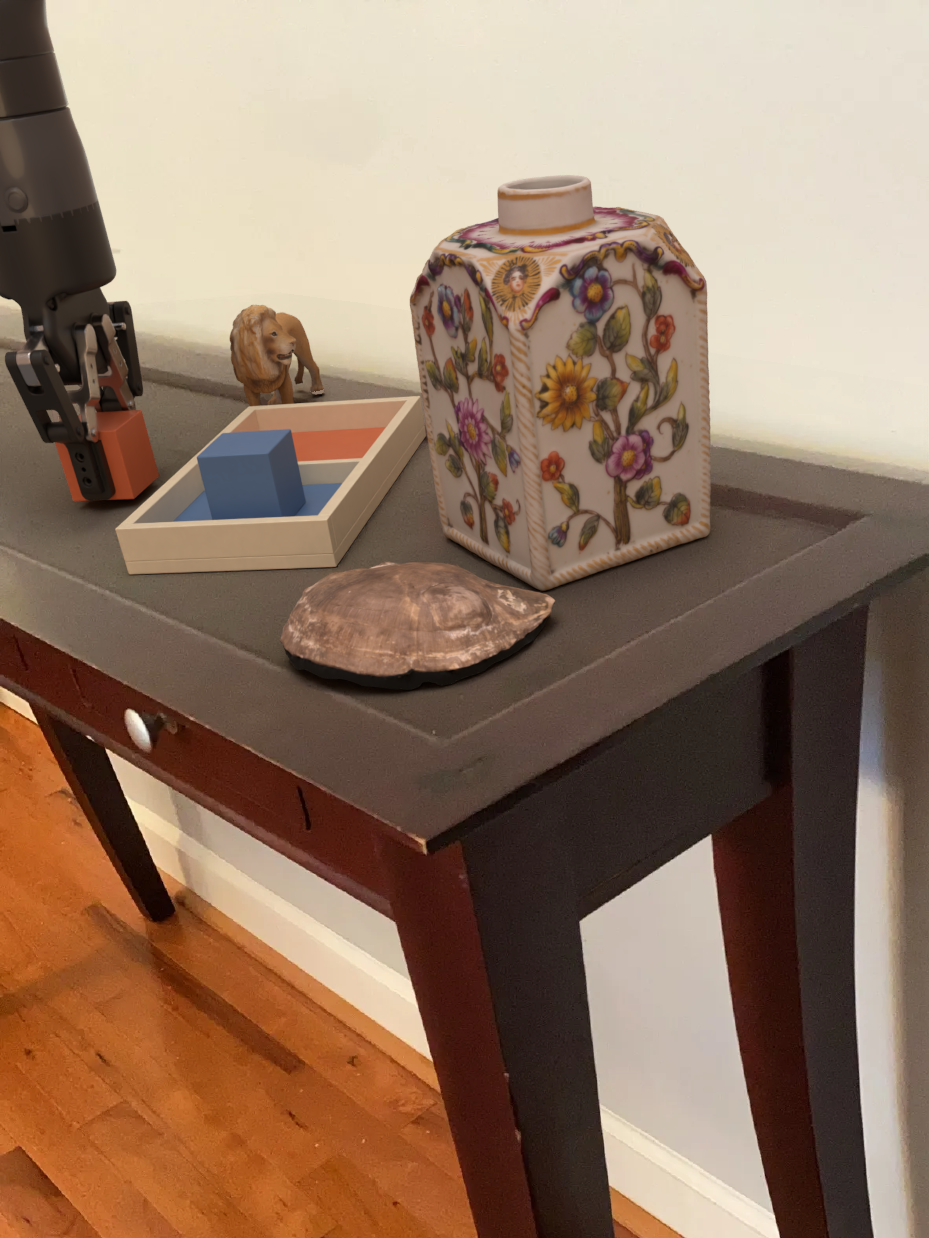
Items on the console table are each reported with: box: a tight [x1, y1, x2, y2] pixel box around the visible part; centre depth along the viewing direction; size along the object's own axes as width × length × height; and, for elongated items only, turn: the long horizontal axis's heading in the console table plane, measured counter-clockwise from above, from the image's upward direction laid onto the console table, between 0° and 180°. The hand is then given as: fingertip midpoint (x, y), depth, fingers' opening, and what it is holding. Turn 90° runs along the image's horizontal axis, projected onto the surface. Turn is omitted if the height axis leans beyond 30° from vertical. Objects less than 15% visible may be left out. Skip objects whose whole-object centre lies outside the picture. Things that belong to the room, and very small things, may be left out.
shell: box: [279, 561, 556, 691], centre depth 63 cm, size 12×13×4 cm
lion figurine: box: [229, 304, 325, 407], centre depth 97 cm, size 15×5×9 cm, turn 2°
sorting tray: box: [115, 395, 427, 575], centre depth 83 cm, size 13×24×3 cm, turn 171°
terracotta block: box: [54, 409, 160, 502], centre depth 86 cm, size 4×4×4 cm
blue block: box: [197, 429, 306, 520], centre depth 77 cm, size 4×4×4 cm
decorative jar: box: [409, 174, 712, 592], centre depth 68 cm, size 12×12×18 cm
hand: (115, 483), depth 87 cm, fingers closed on terracotta block, 4 cm apart
